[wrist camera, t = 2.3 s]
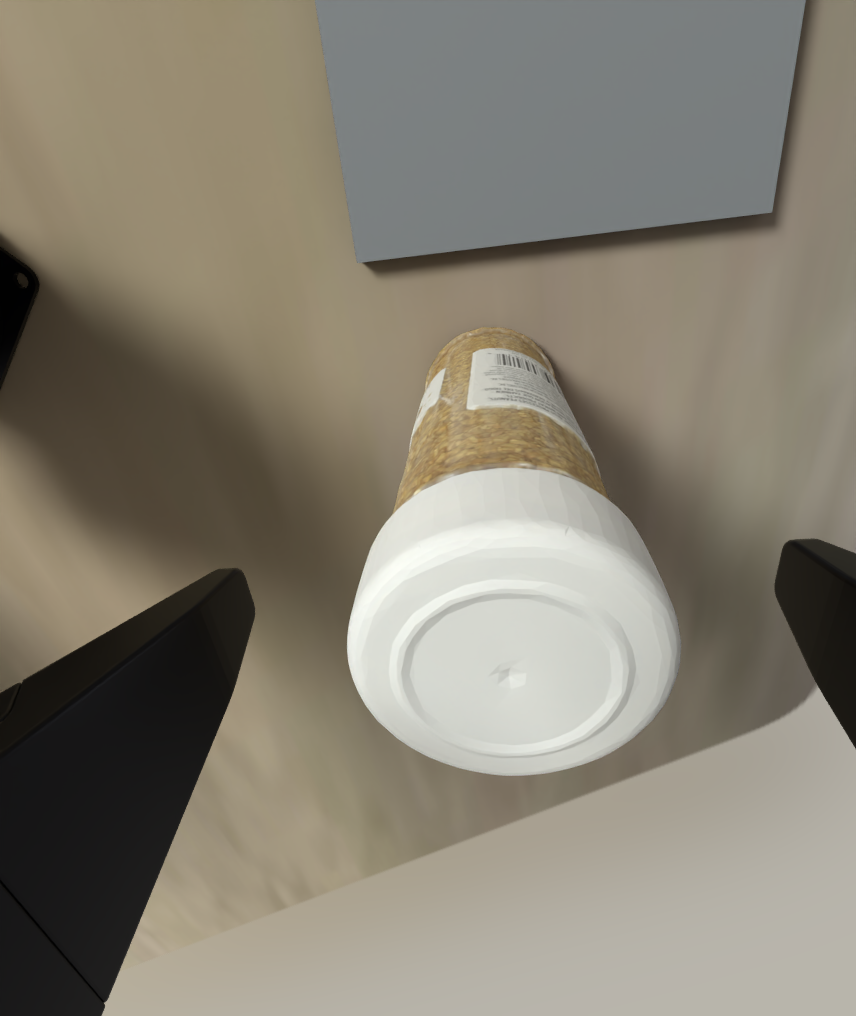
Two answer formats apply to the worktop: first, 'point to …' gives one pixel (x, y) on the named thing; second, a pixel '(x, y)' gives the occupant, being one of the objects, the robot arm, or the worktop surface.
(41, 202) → the worktop surface
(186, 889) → the worktop surface
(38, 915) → the robot arm
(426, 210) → the rest mat
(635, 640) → the sprinkles bottle
